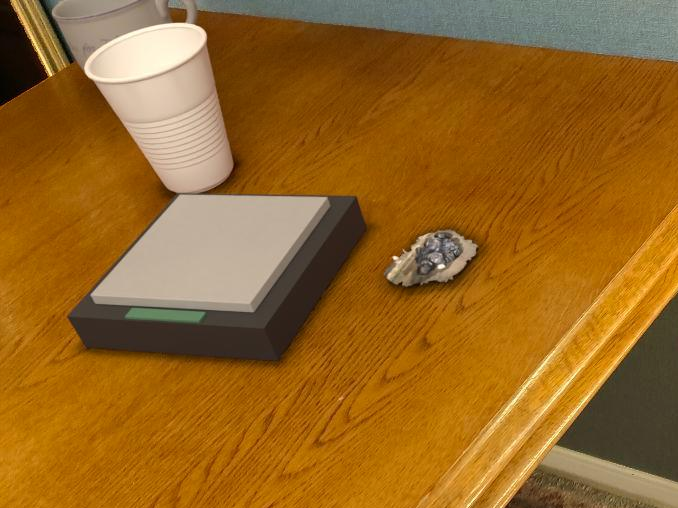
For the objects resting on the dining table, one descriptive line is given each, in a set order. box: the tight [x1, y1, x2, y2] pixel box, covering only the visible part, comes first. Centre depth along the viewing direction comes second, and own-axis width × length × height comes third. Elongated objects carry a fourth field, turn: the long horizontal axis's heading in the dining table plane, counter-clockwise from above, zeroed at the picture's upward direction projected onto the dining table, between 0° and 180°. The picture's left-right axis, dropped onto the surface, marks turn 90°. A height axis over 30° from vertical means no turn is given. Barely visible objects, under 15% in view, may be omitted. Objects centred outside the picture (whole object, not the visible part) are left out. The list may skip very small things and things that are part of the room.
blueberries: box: [382, 229, 479, 288], centre depth 72 cm, size 7×8×2 cm
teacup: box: [51, 0, 199, 73], centre depth 101 cm, size 14×11×8 cm
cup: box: [84, 22, 234, 194], centre depth 83 cm, size 10×10×11 cm
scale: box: [66, 192, 367, 362], centre depth 74 cm, size 16×16×4 cm
